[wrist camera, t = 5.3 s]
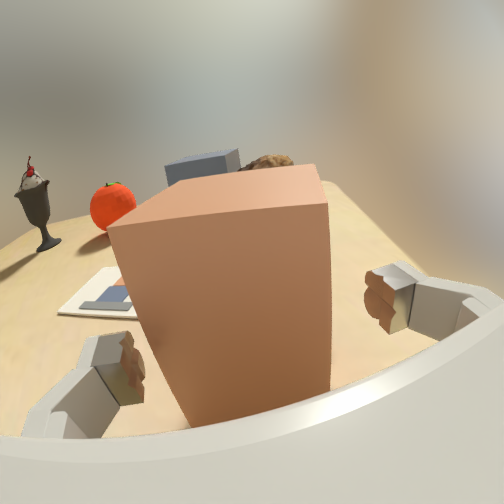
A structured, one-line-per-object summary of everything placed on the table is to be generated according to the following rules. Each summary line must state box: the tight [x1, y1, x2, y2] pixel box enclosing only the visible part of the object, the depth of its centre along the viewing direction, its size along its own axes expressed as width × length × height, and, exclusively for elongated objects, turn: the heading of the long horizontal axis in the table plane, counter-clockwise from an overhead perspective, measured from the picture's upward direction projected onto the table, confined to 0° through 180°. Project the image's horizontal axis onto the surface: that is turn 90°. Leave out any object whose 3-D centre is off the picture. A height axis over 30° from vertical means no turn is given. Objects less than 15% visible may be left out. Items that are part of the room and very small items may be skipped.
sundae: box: [14, 156, 61, 252], centre depth 38 cm, size 7×7×15 cm
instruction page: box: [57, 266, 138, 319], centre depth 23 cm, size 10×8×1 cm
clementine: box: [90, 182, 136, 231], centre depth 39 cm, size 8×7×7 cm
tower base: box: [165, 148, 241, 187], centre depth 35 cm, size 12×12×8 cm
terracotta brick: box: [106, 164, 332, 428], centre depth 11 cm, size 6×6×9 cm
